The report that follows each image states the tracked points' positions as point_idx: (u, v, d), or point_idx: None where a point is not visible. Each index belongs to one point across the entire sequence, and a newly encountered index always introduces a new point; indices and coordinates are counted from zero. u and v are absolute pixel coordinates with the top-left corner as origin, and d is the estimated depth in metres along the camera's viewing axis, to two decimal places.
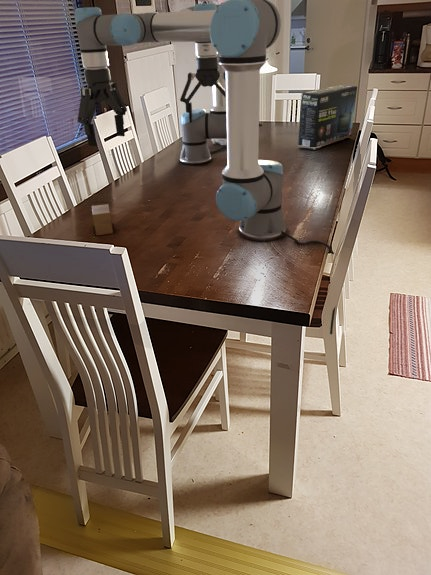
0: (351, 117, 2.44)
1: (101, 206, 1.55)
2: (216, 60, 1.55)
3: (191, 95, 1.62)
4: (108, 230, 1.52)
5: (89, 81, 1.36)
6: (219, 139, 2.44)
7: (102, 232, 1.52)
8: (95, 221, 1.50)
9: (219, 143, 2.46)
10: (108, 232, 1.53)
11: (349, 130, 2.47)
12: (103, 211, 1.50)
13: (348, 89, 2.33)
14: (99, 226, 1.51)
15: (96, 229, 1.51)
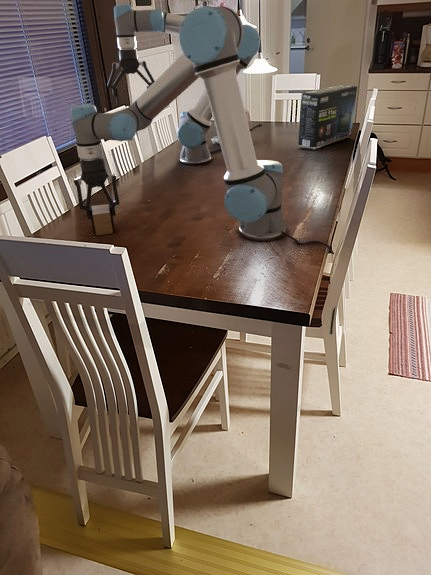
0: (351, 117, 2.44)
1: (101, 206, 1.55)
2: (136, 51, 1.88)
3: (117, 81, 1.92)
4: (108, 230, 1.52)
5: None
6: None
7: (102, 232, 1.52)
8: (95, 221, 1.50)
9: (219, 143, 2.46)
10: (108, 232, 1.53)
11: (349, 130, 2.47)
12: (103, 211, 1.50)
13: (348, 89, 2.33)
14: (99, 226, 1.51)
15: (96, 229, 1.51)
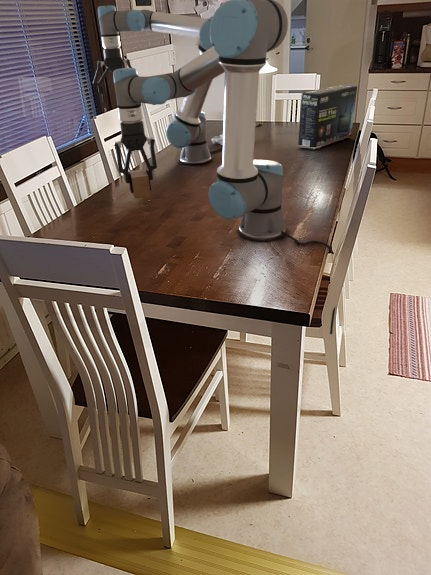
0: (351, 117, 2.44)
1: (138, 171, 1.59)
2: (120, 50, 1.97)
3: (102, 79, 2.01)
4: (146, 193, 1.57)
5: None
6: (219, 139, 2.44)
7: (140, 195, 1.57)
8: (134, 184, 1.54)
9: (219, 143, 2.46)
10: (146, 195, 1.57)
11: (349, 130, 2.47)
12: (142, 175, 1.55)
13: (348, 89, 2.33)
14: (138, 189, 1.55)
15: (135, 192, 1.56)
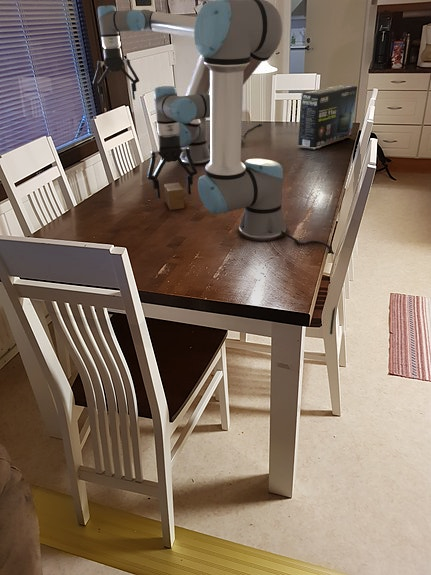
0: (351, 117, 2.44)
1: (173, 184, 1.72)
2: (120, 50, 1.97)
3: (102, 79, 2.01)
4: (180, 205, 1.70)
5: None
6: None
7: (175, 207, 1.70)
8: (170, 197, 1.67)
9: None
10: (180, 207, 1.70)
11: (349, 130, 2.47)
12: (177, 188, 1.68)
13: (348, 89, 2.33)
14: (173, 201, 1.68)
15: (170, 204, 1.69)
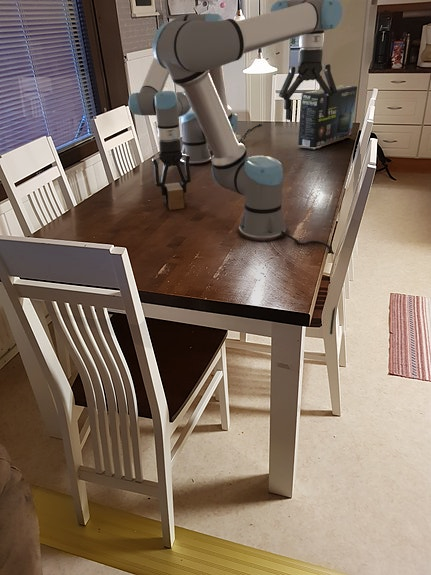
0: (351, 117, 2.44)
1: (173, 184, 1.72)
2: (179, 142, 1.61)
3: (164, 178, 1.66)
4: (180, 205, 1.70)
5: None
6: None
7: (175, 207, 1.70)
8: (170, 197, 1.67)
9: None
10: (180, 207, 1.70)
11: (349, 130, 2.47)
12: (177, 188, 1.68)
13: (348, 89, 2.33)
14: (173, 201, 1.68)
15: (170, 204, 1.69)
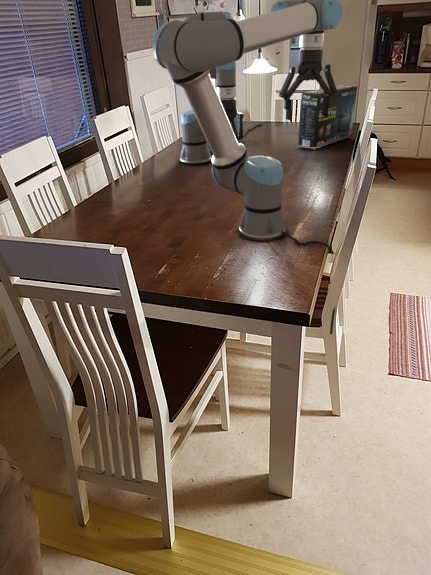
0: (351, 117, 2.44)
1: None
2: (235, 101, 1.80)
3: None
4: None
5: None
6: None
7: None
8: None
9: None
10: None
11: (349, 130, 2.47)
12: None
13: (348, 89, 2.33)
14: None
15: None
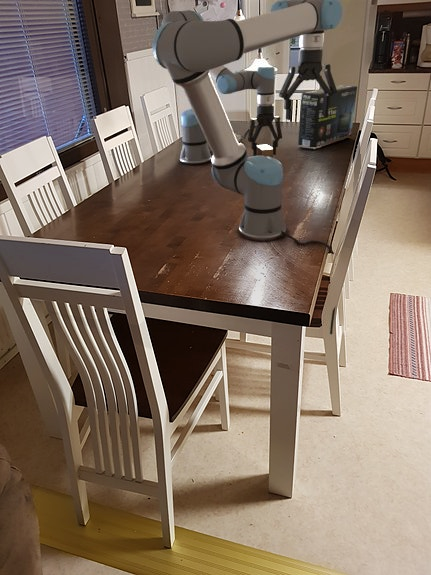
0: (351, 117, 2.44)
1: (263, 145, 2.16)
2: (273, 107, 2.04)
3: (256, 135, 2.09)
4: None
5: None
6: None
7: None
8: (263, 155, 2.11)
9: None
10: None
11: (349, 130, 2.47)
12: (268, 148, 2.12)
13: (348, 89, 2.33)
14: None
15: None
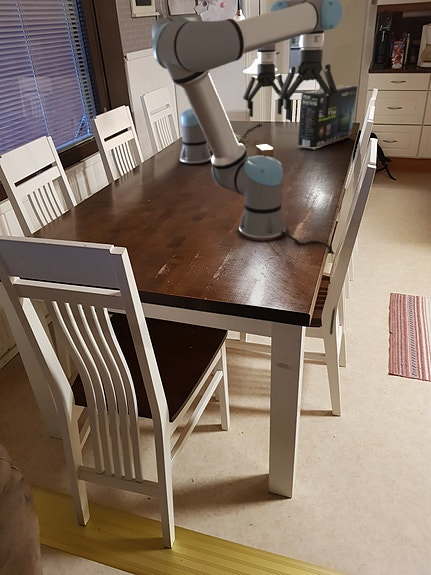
0: (351, 117, 2.44)
1: (263, 145, 2.16)
2: None
3: (253, 94, 1.99)
4: None
5: None
6: None
7: None
8: (263, 155, 2.11)
9: None
10: None
11: (349, 130, 2.47)
12: (268, 148, 2.12)
13: (348, 89, 2.33)
14: None
15: None
